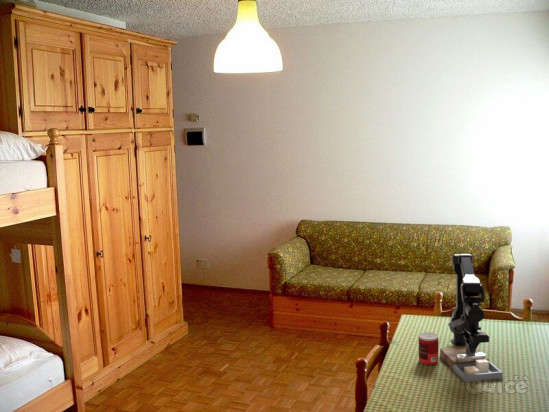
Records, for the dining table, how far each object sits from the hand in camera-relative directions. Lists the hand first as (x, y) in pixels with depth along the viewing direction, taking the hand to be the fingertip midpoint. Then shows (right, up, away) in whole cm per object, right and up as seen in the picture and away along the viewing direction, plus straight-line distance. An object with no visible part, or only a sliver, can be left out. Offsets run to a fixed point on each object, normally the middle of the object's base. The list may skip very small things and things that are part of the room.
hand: (470, 351), depth 227 cm
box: (+1, -8, -4) cm, 9 cm away
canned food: (-14, -6, +9) cm, 18 cm away
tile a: (-2, -5, -6) cm, 8 cm away
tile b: (+3, -5, -2) cm, 6 cm away
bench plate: (0, -6, +7) cm, 9 cm away
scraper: (0, -3, +1) cm, 3 cm away
